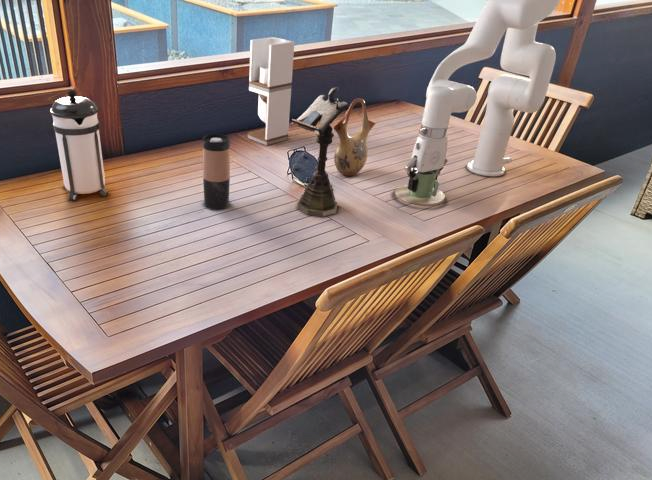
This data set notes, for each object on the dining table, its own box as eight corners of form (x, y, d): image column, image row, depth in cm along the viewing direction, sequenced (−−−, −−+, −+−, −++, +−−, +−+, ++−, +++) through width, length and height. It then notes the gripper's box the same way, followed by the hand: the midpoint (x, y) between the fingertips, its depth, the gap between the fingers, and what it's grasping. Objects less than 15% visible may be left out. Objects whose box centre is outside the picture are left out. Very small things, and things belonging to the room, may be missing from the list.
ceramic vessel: (337, 182, 186) (347, 104, 172) (321, 173, 192) (329, 97, 178) (375, 174, 193) (388, 99, 179) (358, 165, 199) (369, 92, 185)
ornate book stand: (305, 225, 159) (317, 97, 139) (277, 208, 168) (284, 85, 148) (348, 212, 167) (365, 89, 147) (320, 196, 176) (332, 78, 156)
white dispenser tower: (268, 132, 226) (273, 36, 207) (287, 139, 220) (294, 41, 200) (247, 137, 220) (250, 39, 200) (266, 145, 213) (271, 44, 194)
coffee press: (123, 186, 177) (112, 86, 160) (90, 205, 165) (75, 99, 148) (78, 176, 182) (63, 78, 166) (43, 193, 170) (23, 90, 154)
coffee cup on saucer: (385, 190, 180) (389, 165, 175) (422, 183, 186) (427, 158, 181) (417, 208, 169) (422, 182, 164) (454, 200, 175) (461, 175, 170)
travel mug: (233, 201, 170) (234, 136, 159) (223, 211, 164) (224, 144, 153) (209, 197, 172) (208, 132, 161) (199, 207, 166) (197, 140, 155)
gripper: (419, 139, 159) (407, 197, 169) (464, 131, 167) (450, 188, 177) (401, 131, 165) (391, 188, 175) (446, 124, 172) (433, 179, 182)
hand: (421, 187), depth 176 cm, fingers closed on coffee cup on saucer, 7 cm apart
